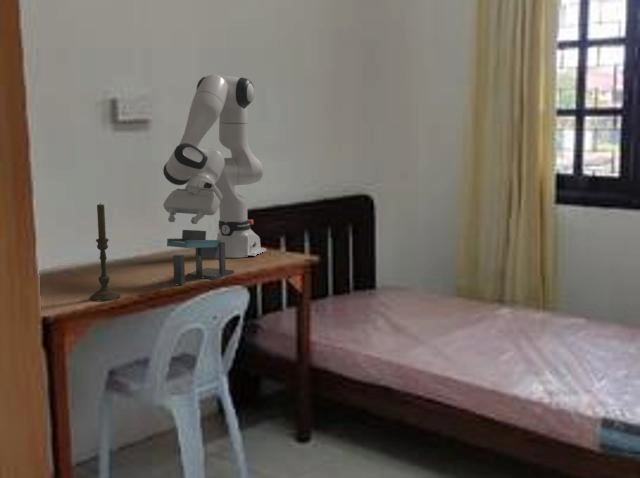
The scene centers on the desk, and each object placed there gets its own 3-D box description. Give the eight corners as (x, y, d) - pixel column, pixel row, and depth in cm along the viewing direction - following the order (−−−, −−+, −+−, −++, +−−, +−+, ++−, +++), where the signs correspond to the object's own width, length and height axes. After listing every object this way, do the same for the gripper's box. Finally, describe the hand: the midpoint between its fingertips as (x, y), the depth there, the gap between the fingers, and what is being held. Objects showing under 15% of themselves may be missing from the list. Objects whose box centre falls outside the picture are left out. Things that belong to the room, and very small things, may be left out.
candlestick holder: (114, 293, 260) (110, 200, 255) (124, 298, 252) (119, 202, 247) (86, 297, 255) (81, 202, 250) (95, 302, 247) (90, 204, 243)
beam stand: (207, 270, 296) (206, 237, 294) (234, 273, 290) (233, 240, 289) (163, 283, 274) (162, 248, 272) (191, 286, 269) (190, 251, 267)
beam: (205, 256, 292) (206, 238, 292) (225, 258, 288) (226, 240, 288) (165, 257, 271) (166, 238, 271) (186, 260, 267) (187, 240, 267)
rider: (181, 241, 275) (195, 241, 282) (191, 242, 273) (205, 242, 280) (182, 229, 275) (196, 230, 282) (192, 230, 273) (206, 231, 280)
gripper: (169, 182, 280) (152, 214, 273) (219, 185, 271) (202, 217, 264) (178, 194, 285) (161, 225, 278) (226, 197, 276) (210, 229, 269)
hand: (181, 222), depth 271 cm, fingers open, 8 cm apart
